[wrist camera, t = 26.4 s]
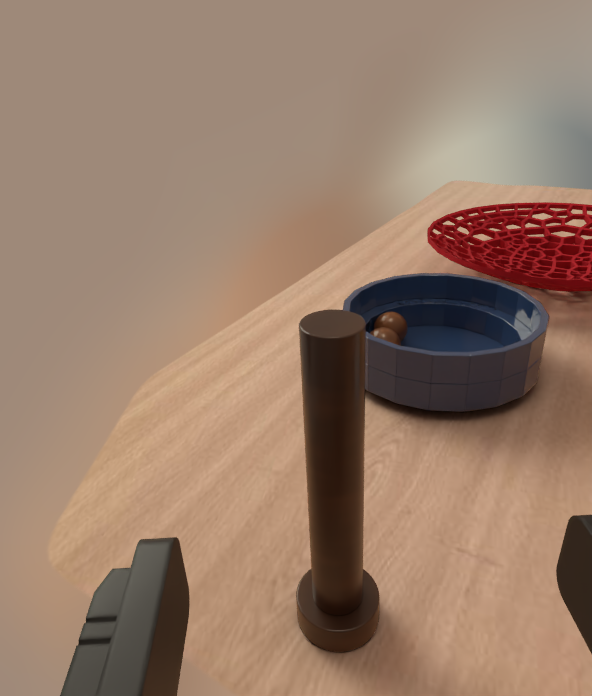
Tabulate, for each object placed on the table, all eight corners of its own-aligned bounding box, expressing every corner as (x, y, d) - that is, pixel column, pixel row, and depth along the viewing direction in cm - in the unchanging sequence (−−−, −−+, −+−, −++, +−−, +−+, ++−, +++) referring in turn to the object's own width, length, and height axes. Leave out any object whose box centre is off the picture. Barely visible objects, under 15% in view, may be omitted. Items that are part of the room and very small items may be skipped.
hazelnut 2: (368, 367, 49) (364, 335, 49) (403, 363, 48) (398, 330, 49) (366, 360, 46) (361, 325, 47) (403, 355, 45) (397, 320, 46)
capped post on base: (287, 642, 26) (261, 343, 19) (308, 574, 30) (293, 297, 22) (372, 661, 25) (380, 353, 18) (383, 588, 29) (394, 304, 21)
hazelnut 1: (362, 331, 50) (387, 314, 48) (372, 317, 52) (396, 300, 50) (384, 356, 50) (409, 340, 48) (393, 340, 52) (417, 325, 50)
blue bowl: (336, 415, 42) (335, 352, 40) (348, 323, 57) (348, 272, 54) (561, 425, 40) (575, 358, 37) (515, 326, 54) (523, 273, 52)
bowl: (389, 303, 61) (391, 259, 58) (458, 230, 83) (461, 196, 81) (716, 356, 47) (735, 302, 45) (693, 251, 70) (705, 212, 68)
